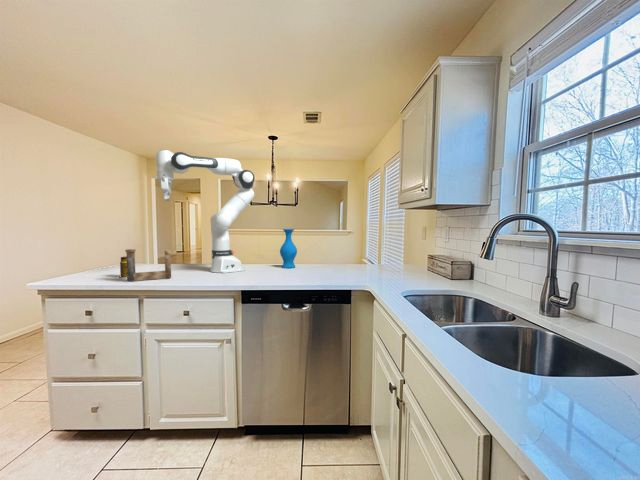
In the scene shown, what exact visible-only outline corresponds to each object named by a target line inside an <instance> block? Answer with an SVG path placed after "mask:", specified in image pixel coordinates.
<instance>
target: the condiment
mask: <svg viewBox="0 0 640 480" xmlns="http://www.w3.org/2000/svg"><path fill="white" fill-rule="evenodd" d="M119 266H120V267H119V268H120V273H119V274H120V276H121V277H127V255H125V256H121V257H120V262H119ZM117 276H118V275H116V277H117ZM116 277H115V278H116Z"/></svg>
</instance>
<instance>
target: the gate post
mask: <svg viewBox="0 0 640 480" xmlns="http://www.w3.org/2000/svg"><path fill="white" fill-rule="evenodd" d="M125 253H126V256H127V278H126V280H127V282H130V281H129V279H128V257H133V272H134V273H136V248H133V249H125Z"/></svg>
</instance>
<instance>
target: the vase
mask: <svg viewBox="0 0 640 480" xmlns="http://www.w3.org/2000/svg"><path fill="white" fill-rule="evenodd" d="M294 230H295V229H294V228H283V229H282V231H283V232H284V233H285V240H284V243H283V244H282V245H281V246H280V249H279V254H280V257H281V259H282V261H283V264H282V265H281V267H282V268H284V269H291V268H292V269H294V268H295V267H296V265H295V262H294V261H295V258H296V257H297V254H298V248H297V247H296V245H295V244H294V242H293V240H292V234H293V232H294Z"/></svg>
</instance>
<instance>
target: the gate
mask: <svg viewBox="0 0 640 480" xmlns="http://www.w3.org/2000/svg"><path fill="white" fill-rule="evenodd" d="M171 252H172V250H171V249H170V248H165V250H164V269H165V270H156V271H144V272H143V271H141V272H135V273H134V272H133V257H128V279H129V281H128V282H134V281H143V280H144V281H145V280H147V281H149V280H157V279H159V280H160V279H171V278H172V258H171V257H172V254H171Z"/></svg>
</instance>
